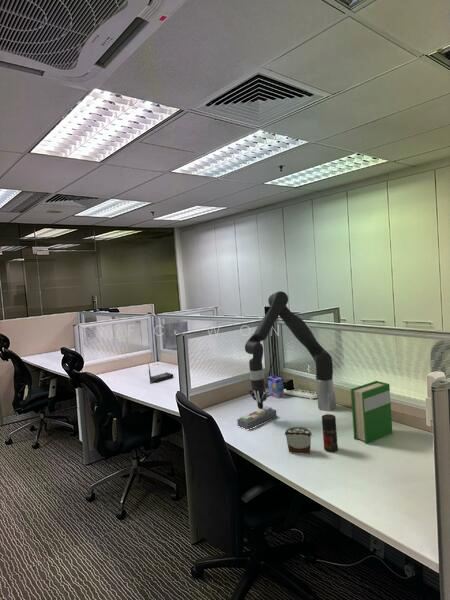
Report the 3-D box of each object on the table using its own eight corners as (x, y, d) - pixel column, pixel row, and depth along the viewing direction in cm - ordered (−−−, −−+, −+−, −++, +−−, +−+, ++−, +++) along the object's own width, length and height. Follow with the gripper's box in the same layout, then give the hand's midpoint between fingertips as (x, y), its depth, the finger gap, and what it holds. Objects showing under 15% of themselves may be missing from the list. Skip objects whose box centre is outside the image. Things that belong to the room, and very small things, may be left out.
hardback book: (366, 444, 175) (363, 392, 173) (354, 438, 181) (350, 389, 179) (392, 433, 183) (389, 383, 181) (379, 428, 190) (376, 380, 188)
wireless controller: (165, 376, 327) (163, 356, 325) (174, 379, 316) (172, 358, 315) (144, 382, 314) (142, 361, 313) (152, 385, 303) (150, 364, 302)
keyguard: (276, 416, 216) (276, 409, 216) (248, 430, 201) (247, 423, 201) (266, 413, 222) (265, 406, 222) (237, 426, 207) (237, 419, 207)
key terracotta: (259, 420, 210) (258, 415, 209) (254, 423, 207) (253, 417, 207) (254, 419, 213) (253, 414, 212) (248, 421, 210) (248, 416, 210)
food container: (315, 448, 176) (313, 426, 175) (313, 454, 170) (312, 432, 169) (288, 446, 180) (286, 425, 179) (285, 452, 174) (284, 431, 173)
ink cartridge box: (268, 394, 254) (266, 373, 253) (275, 393, 257) (273, 371, 256) (277, 398, 245) (275, 376, 244) (284, 396, 248) (282, 374, 247)
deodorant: (322, 446, 176) (320, 414, 175) (335, 445, 176) (333, 413, 175) (325, 452, 170) (323, 419, 169) (339, 451, 170) (337, 418, 169)
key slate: (271, 412, 216) (271, 407, 216) (267, 414, 214) (266, 409, 213) (266, 411, 219) (266, 406, 219) (261, 413, 217) (261, 408, 216)
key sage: (252, 421, 206) (251, 416, 206) (247, 424, 203) (246, 418, 203) (247, 420, 209) (246, 414, 209) (241, 422, 207) (241, 416, 206)
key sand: (265, 415, 213) (265, 410, 213) (260, 417, 210) (260, 412, 210) (260, 413, 216) (259, 408, 216) (255, 416, 213) (254, 410, 213)
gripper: (270, 377, 208) (274, 408, 209) (253, 374, 218) (256, 404, 219) (261, 381, 203) (265, 413, 204) (243, 377, 213) (247, 408, 214)
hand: (260, 408), depth 212 cm, fingers closed
